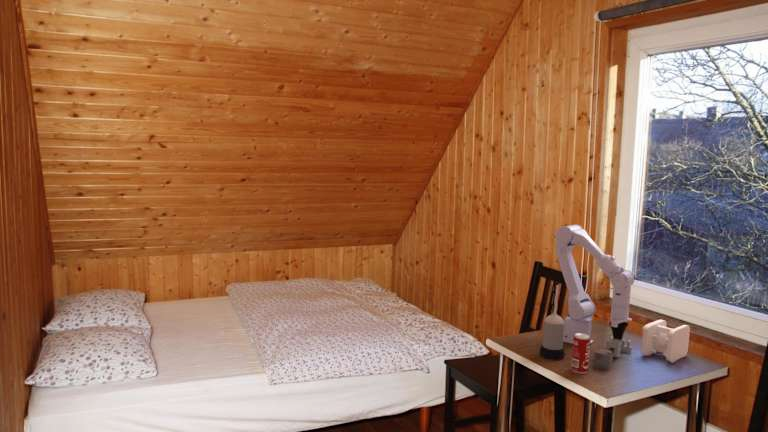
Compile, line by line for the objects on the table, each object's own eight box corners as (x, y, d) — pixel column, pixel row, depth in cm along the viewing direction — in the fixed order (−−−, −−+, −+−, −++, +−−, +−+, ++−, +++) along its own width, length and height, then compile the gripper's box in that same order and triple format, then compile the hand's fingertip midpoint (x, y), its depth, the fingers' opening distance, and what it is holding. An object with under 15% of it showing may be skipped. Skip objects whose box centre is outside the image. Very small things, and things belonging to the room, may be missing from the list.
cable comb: (608, 347, 216) (609, 335, 215) (631, 352, 211) (632, 340, 210) (607, 348, 214) (608, 337, 213) (630, 353, 209) (631, 342, 209)
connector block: (596, 364, 198) (597, 349, 197) (611, 367, 195) (612, 353, 194) (593, 366, 195) (594, 352, 195) (609, 370, 192) (610, 355, 192)
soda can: (582, 367, 194) (585, 332, 193) (590, 373, 189) (593, 337, 188) (568, 368, 193) (570, 332, 192) (575, 374, 188) (578, 338, 187)
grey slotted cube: (608, 351, 208) (609, 337, 207) (620, 354, 206) (621, 340, 205) (605, 354, 205) (606, 340, 204) (617, 357, 202) (618, 343, 202)
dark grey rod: (614, 345, 213) (615, 336, 213) (624, 348, 211) (625, 338, 211) (597, 362, 196) (598, 351, 196) (608, 364, 194) (609, 354, 194)
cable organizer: (669, 365, 199) (672, 332, 197) (638, 356, 207) (641, 324, 205) (687, 356, 209) (691, 324, 207) (658, 348, 217) (661, 317, 215)
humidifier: (569, 357, 203) (574, 286, 200) (552, 361, 199) (557, 289, 196) (551, 350, 210) (556, 281, 207) (534, 353, 206) (539, 283, 203)
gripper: (627, 311, 199) (624, 350, 201) (637, 302, 211) (634, 339, 212) (606, 307, 203) (602, 345, 205) (616, 299, 215) (613, 335, 217)
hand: (617, 342), depth 209 cm, fingers closed
